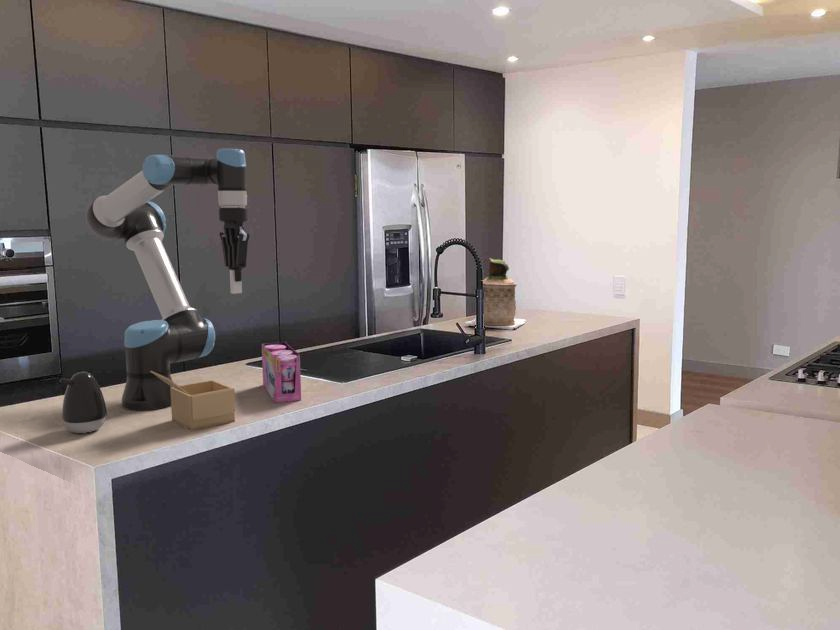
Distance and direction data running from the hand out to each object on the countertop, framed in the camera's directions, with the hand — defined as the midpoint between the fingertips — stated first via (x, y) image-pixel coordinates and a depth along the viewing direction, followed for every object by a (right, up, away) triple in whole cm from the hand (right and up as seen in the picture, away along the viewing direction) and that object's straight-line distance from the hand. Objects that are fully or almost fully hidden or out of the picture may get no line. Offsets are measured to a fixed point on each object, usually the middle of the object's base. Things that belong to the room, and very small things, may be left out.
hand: (236, 293), depth 198 cm
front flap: (-13, -23, -16) cm, 31 cm away
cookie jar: (+87, -11, +144) cm, 168 cm away
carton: (-6, -34, -9) cm, 36 cm away
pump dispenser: (-34, -36, -17) cm, 52 cm away
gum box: (+9, -30, +20) cm, 37 cm away
